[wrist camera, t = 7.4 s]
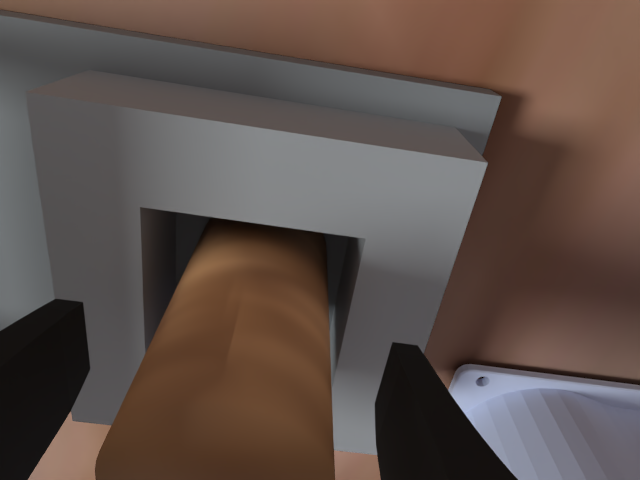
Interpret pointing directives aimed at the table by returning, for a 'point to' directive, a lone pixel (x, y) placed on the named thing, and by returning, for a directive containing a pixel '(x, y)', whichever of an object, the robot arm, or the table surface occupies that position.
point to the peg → (234, 367)
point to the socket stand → (226, 189)
